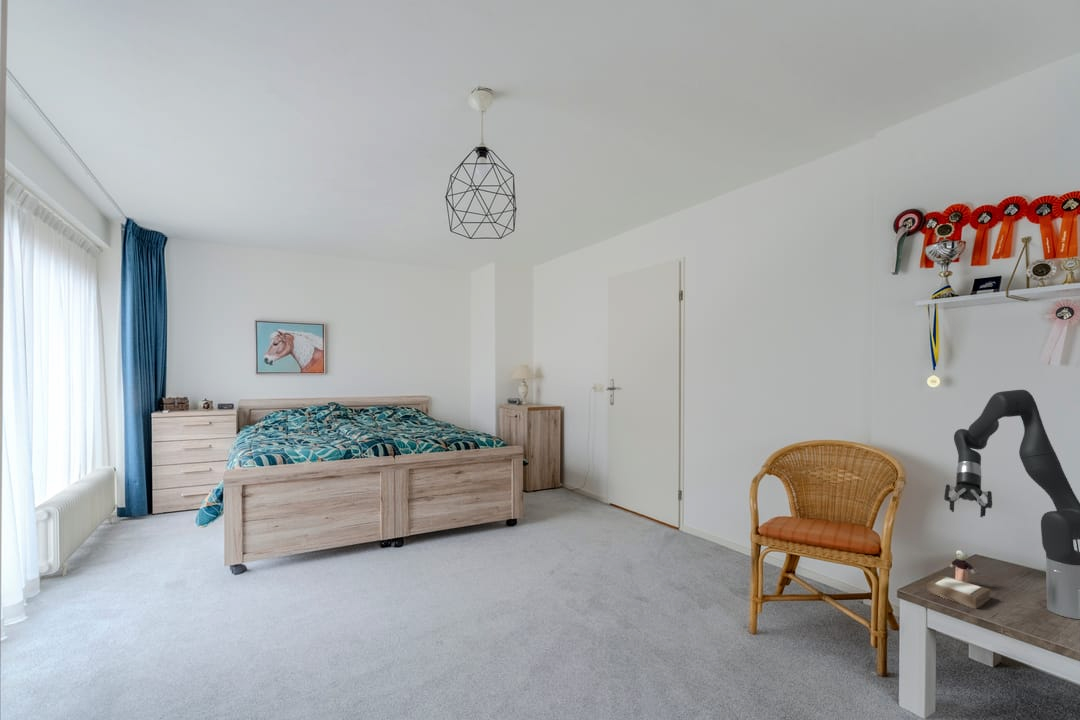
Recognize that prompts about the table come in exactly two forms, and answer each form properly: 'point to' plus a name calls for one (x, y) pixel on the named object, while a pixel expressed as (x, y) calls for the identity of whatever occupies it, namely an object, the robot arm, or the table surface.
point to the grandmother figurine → (962, 566)
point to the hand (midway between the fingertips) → (967, 513)
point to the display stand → (959, 591)
